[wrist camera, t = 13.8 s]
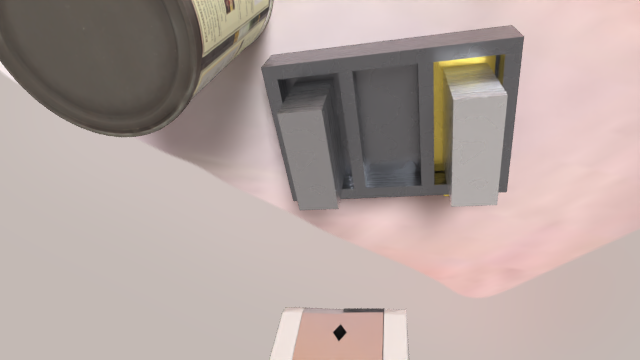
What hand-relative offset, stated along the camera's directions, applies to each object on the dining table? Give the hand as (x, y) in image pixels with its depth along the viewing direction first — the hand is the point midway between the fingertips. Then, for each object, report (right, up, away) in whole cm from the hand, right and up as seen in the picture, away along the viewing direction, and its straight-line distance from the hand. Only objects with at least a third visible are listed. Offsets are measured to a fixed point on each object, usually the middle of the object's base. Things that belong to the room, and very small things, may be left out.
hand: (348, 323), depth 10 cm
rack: (+5, +9, +23) cm, 25 cm away
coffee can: (-9, +18, +19) cm, 28 cm away
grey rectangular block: (+10, +8, +20) cm, 24 cm away
